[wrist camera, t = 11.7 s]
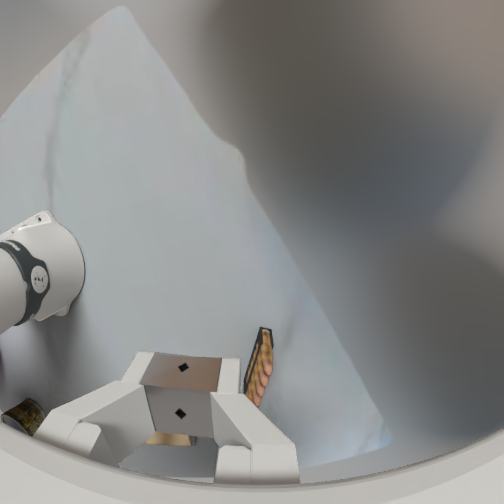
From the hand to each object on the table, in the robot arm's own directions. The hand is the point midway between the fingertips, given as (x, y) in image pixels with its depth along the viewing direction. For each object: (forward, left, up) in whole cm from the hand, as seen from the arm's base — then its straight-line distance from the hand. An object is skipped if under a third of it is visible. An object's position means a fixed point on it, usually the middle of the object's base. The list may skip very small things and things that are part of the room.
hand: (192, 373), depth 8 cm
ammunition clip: (+1, -20, -35) cm, 41 cm away
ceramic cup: (-54, -37, -35) cm, 74 cm away
